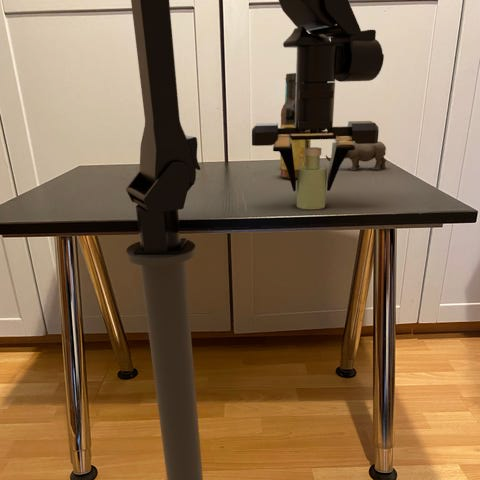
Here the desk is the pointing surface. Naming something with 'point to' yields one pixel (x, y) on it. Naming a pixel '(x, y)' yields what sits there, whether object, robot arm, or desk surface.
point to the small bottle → (311, 181)
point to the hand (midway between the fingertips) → (311, 190)
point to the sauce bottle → (297, 145)
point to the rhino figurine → (367, 155)
